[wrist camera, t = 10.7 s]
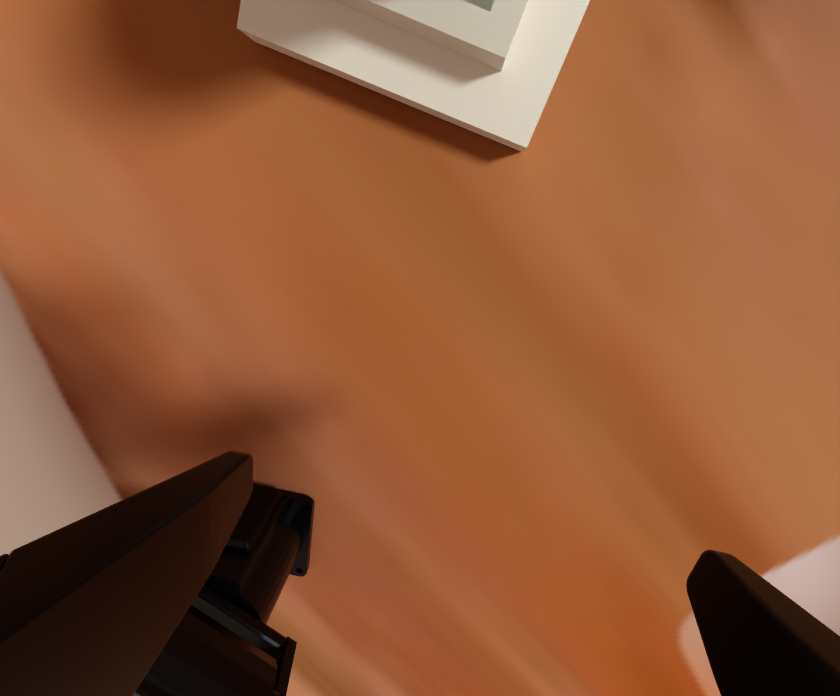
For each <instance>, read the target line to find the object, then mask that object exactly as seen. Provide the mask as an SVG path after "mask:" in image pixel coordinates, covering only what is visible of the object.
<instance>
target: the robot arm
mask: <svg viewBox="0 0 840 696" xmlns="http://www.w3.org/2000/svg"><path fill="white" fill-rule="evenodd" d="M304 504H307V506H306V505H304ZM313 515H314V500H313V499H312V498H311V497H308V496H305V495H300V494H295V493H290V492H286V491H281V490H276V489H271V488H266V487H262V486H257V485H253V458H252V456H251V455H250V454H248V453H243V452H238V451H229V452H226V453H224V454H222V455H220V456H218V457H216V458H213V459H211V460H209V461H207V462H205V463H203V464H200V465H198V466H196V467H194V468H192V469H189V470H187V471H185V472H183V473H181V474H179V475H176V476H174V477H172V478H170V479H168V480H165V481H163V482H161V483H159V484H157V485H155V486H152V487H150V488H148V489H146V490H144V491H141V492H139V493H137V494H135V495H133V496H131V497H128V498H126V499H124V500H122V501H120V502H117V503H115V504H113V505H111V506H109V507H107V508H104V509H102V510H100V511H98V512H96V513H93V514H91V515H89V516H87V517H85V518H83V519H80V520H78V521H76V522H74V523H72V524H69V525H67V526H65V527H63V528H61V529H59V530H56V531H54V532H52V533H50V534H48V535H45V536H43V537H41V538H39V539H37V540H35V541H33V542H30V543H28V544H26V545H24V546H21V547H19V548H17V549H15V550H13V551H12V552H11V553H10V555H8V554H4V555H2V556H0V696H286V692H287V687H288V683H289V678H290V673H291V668H292V663H293V658H294V653H295V649H296V644H297V642H296V641H294V640H293V639H291V638H290V637H287V638H286V637H284V636H283V635H281V634H280V633H278V632H277V631H275V630H274V629H272V628H271V627H269V626H268V625H266V623H267V621H268V619H269V617H270V615H271V612H272V610H273V608H274V606H275V604H276V602H277V599H278V597H279V595H280V593H281V591H282V589H283V586H284V584H285V582H286V580H287V578H288V576H289V574H291V575H296V576H304V575H306V573H307V570H308V568H309V559H310V548H311V537H312V526H313ZM686 587H687V593H688V596H689V600H690V603H691V606H692V609H693V612H694V615H695V618H696V622H697V625H698V628H699V631H700V634H701V637H702V640H703V644H704V647H705V650H706V653H707V656H708V659H709V663H710V666H711V669H712V672H713V675H714V678H715V680H716V683H717V686H718V688H719V691H720V694H721V696H840V636H839V635H837V634H836V633H835V632H833V631H832V630H831V629H829V628H828V627H827V626H825V625H824V624H822V623H821V622H820V621H819V620H817V619H816V618H815V617H813V616H812V615H810V613H808V612H807V611H806V610H804V609H803V608H801V607H800V606H799V605H798V604H796V603H795V602H794V601H792V600H791V599H790V598H788V597H787V596H786V595H784V594H783V593H782V592H780V591H779V590H778V589H776V588H775V587H774V586H772V585H771V584H770V583H769V582H767V581H766V580H765V579H763V578H762V577H761V576H759V575H758V574H757V573H755V572H754V571H753V570H751V569H750V568H749V567H747V566H746V565H745V564H743V563H742V562H741V561H739V560H738V559H737V558H735V557H734V556H732V555H730V554H728V553H724V552H719V551H714V550H706V551H704V552H703V553H702V554H701V556H700V558H699V559H698V561H697V563H696V564H695V566H694V568H693V570H692V571H691V573H690V575H689V576H688V579H687V586H686Z"/></svg>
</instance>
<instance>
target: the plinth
mask: <svg viewBox="0 0 840 696" xmlns="http://www.w3.org/2000/svg"><path fill="white" fill-rule="evenodd" d="M589 1H590V0H241V3H240V9H239V15H238V22H237V29H239V30H240V31H241V32H243V33H244V34H245V35H247V36H248V37H249V38H251V39H252V40H253V41H255V42H257V43H259V44H261V45H264V46H266V47H269V48H271V49H274V50H276V51H278V52H281V53H283V54H286V55H288V56H290V57H293V58H295V59H298V60H300V61H303V62H305V63H307V64H310V65H312V66H315V67H317V68H320V69H322V70H324V71H327V72H329V73H332V74H334V75H336V76H339V77H341V78H344V79H346V80H349V81H351V82H353V83H356V84H358V85H361V86H363V87H366V88H368V89H370V90H373V91H375V92H378V93H380V94H383V95H385V96H387V97H390V98H392V99H395V100H397V101H399V102H402V103H404V104H407V105H409V106H412V107H414V108H416V109H419V110H421V111H424V112H426V113H429V114H431V115H433V116H436V117H438V118H441V119H443V120H445V121H448V122H450V123H453V124H455V125H458V126H460V127H462V128H465V129H467V130H470V131H472V132H475V133H477V134H479V135H482V136H484V137H487V138H489V139H491V140H494V141H496V142H499V143H501V144H504V145H506V146H508V147H511V148H513V149H516V150H518V151H521V152H522V151H523V150H525V149H526V148H527V146H528V144H529V141H530V139H531V137H532V134H533V132H534V130H535V127H536V125H537V123H538V120H539V118H540V116H541V113H542V111H543V109H544V106H545V104H546V102H547V99H548V97H549V95H550V92H551V90H552V88H553V85H554V83H555V81H556V78H557V76H558V74H559V71H560V69H561V67H562V64H563V62H564V60H565V57H566V55H567V53H568V50H569V48H570V46H571V43H572V41H573V39H574V36H575V34H576V32H577V29H578V27H579V25H580V22H581V20H582V18H583V15H584V13H585V11H586V8H587V6H588V4H589Z"/></svg>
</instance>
